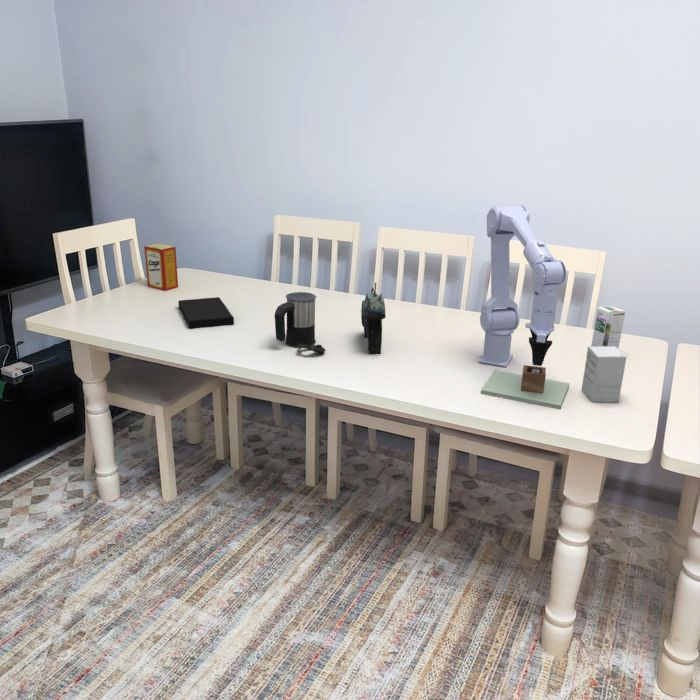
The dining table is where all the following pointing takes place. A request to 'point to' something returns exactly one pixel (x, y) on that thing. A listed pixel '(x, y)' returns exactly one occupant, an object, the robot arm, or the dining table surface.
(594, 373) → the supplement box
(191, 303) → the external hard drive
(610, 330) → the syrup box
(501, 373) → the sage board
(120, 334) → the dining table surface
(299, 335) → the milk frother
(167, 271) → the baking soda box
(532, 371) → the grey steel post
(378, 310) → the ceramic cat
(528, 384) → the walnut collar
